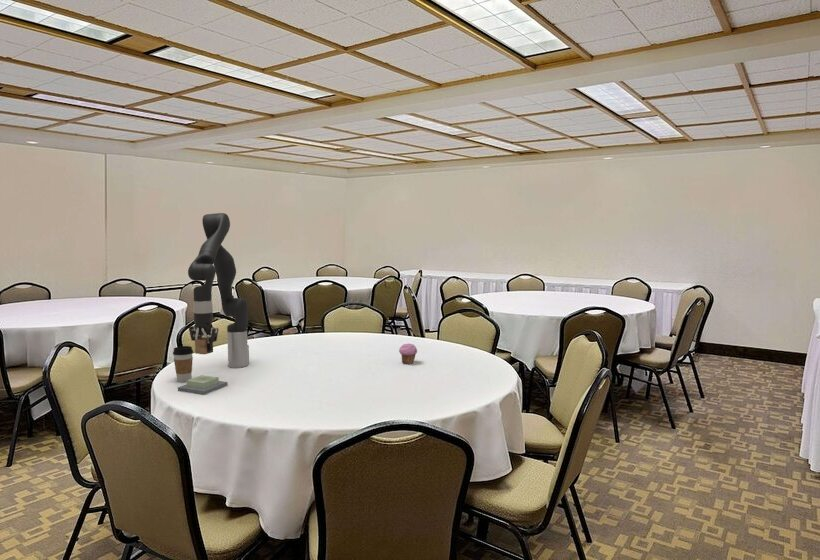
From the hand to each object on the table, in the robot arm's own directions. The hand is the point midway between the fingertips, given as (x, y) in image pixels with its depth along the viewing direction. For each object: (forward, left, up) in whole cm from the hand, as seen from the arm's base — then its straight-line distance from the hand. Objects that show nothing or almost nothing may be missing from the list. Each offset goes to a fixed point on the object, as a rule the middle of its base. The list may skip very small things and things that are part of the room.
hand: (204, 351), depth 233 cm
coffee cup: (-5, -17, -16) cm, 24 cm away
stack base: (+1, -1, -16) cm, 16 cm away
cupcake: (-70, +64, -16) cm, 97 cm away
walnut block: (0, 0, -1) cm, 1 cm away
